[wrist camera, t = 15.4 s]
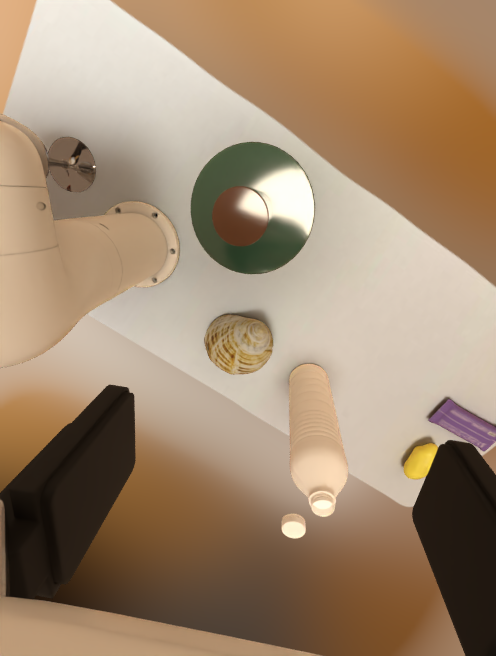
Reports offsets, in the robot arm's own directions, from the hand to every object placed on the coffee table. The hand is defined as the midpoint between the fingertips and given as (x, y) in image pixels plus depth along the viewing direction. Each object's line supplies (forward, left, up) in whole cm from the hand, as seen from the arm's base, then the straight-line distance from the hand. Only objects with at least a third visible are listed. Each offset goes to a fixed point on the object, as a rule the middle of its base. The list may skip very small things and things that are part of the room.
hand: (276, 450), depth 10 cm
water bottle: (+6, -21, -42) cm, 47 cm away
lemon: (+28, -32, -41) cm, 59 cm away
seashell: (-5, -14, -42) cm, 44 cm away
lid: (-3, +6, -15) cm, 16 cm away
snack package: (+33, -26, -40) cm, 58 cm away
